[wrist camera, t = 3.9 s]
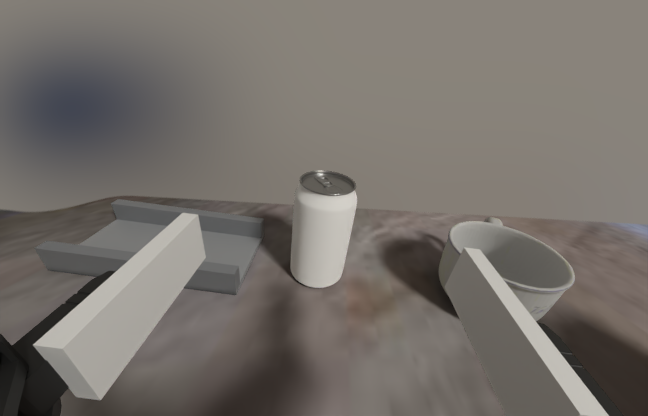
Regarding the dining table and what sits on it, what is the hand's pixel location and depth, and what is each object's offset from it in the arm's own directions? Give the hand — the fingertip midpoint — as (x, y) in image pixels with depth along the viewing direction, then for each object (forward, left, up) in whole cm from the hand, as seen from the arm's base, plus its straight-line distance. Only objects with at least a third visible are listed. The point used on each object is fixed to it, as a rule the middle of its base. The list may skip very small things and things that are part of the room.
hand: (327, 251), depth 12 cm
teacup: (+20, +13, -14) cm, 27 cm away
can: (0, +13, -14) cm, 19 cm away
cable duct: (-18, +13, -14) cm, 26 cm away
